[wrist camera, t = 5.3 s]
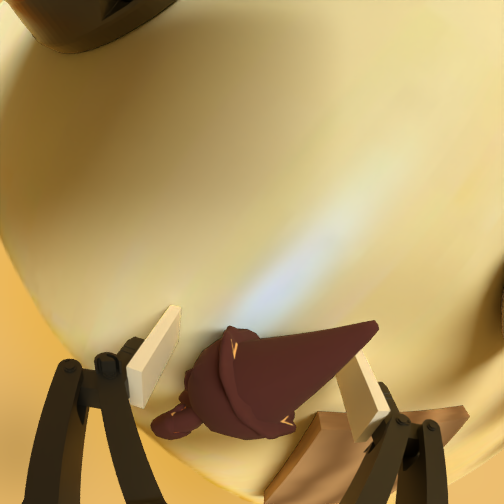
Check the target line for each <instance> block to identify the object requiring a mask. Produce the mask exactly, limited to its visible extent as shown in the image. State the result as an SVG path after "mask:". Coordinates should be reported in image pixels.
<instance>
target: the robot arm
mask: <svg viewBox="0 0 504 504" xmlns="http://www.w3.org/2000/svg"><path fill="white" fill-rule="evenodd" d="M4 1H6V2H7V3H8V4H9V5H10V6H11V8H12V9H13V10H14V12H15V13H16V14H17V16H18V17H19V18H20V20H21V21H22V22H23V24H24V25H25V26H26V27H27V29H28V30H29V31H30V32H31V33H32V35H33V37H34V38H35V39H36V40H37V41H38V42H39V43H41V44H42V45H44V46H47V47H49V48H51V49H53V50H55V51H58V52H61V53H79V52H84V51H87V50H91V49H94V48H97V47H99V46H102V45H104V44H106V43H109V42H111V41H113V40H115V39H117V38H119V37H121V36H123V35H125V34H127V33H128V32H130V31H132V30H134V29H135V28H137V27H138V26H140V25H142V24H143V23H145V22H146V21H148V20H149V19H151V18H152V17H154V16H155V15H157V14H158V13H160V12H161V11H162V10H164V9H165V8H166V7H168V6H169V5H170V4H171V3H173V2H174V1H175V0H4ZM181 310H182V308H181V307H177V306H174V305H170V306H169V308H168V309H167V310H166V312H165V313H164V314H163V316H162V317H161V319H160V320H159V321H158V323H157V324H156V325H155V327H154V328H153V330H152V331H151V332H150V334H149V335H148V337H147V338H146V339H145V340H144V339H141V338H137V337H133V338H131V339H129V340H128V341H127V342H126V343H125V345H124V347H122V348H121V350H120V351H119V352H118V353H117V355H116V354H113V353H109V352H104V353H100V354H98V355H97V356H96V357H95V360H94V363H95V370H89V369H83V368H82V366H81V364H80V363H79V362H78V361H77V360H74V359H66V360H63V361H61V362H60V363H59V365H58V367H57V369H56V372H55V375H54V377H53V380H52V383H51V386H50V388H49V391H48V394H47V398H46V401H45V404H44V407H43V410H42V414H41V417H40V420H39V424H38V428H37V432H36V436H35V440H34V444H33V448H32V453H31V458H30V463H29V468H28V475H27V481H26V488H25V496H24V497H25V498H24V500H23V502H22V504H80V484H81V468H82V457H83V447H84V439H85V432H86V424H87V418H88V412H89V407H94V408H99V409H101V411H102V416H103V422H104V427H105V431H106V437H107V441H108V445H109V449H110V453H111V457H112V461H113V464H114V468H115V471H116V475H117V477H118V481H119V484H120V487H121V490H122V493H123V496H124V499H125V501H126V504H167V503H166V502H165V500H164V498H163V496H162V494H161V492H160V489H159V487H158V485H157V482H156V480H155V477H154V475H153V473H152V470H151V468H150V465H149V462H148V460H147V457H146V454H145V452H144V449H143V446H142V443H141V440H140V437H139V434H138V431H137V427H136V424H135V421H134V417H133V414H132V410H131V407H130V404H131V405H133V406H136V407H139V408H142V409H144V408H145V406H146V404H147V402H148V400H149V398H150V396H151V394H152V392H153V390H154V388H155V386H156V384H157V382H158V380H159V378H160V376H161V374H162V372H163V370H164V368H165V366H166V364H167V362H168V360H169V358H170V357H171V355H172V353H173V351H174V349H175V347H176V345H177V343H178V339H179V328H180V319H181ZM336 379H337V382H338V385H339V389H340V392H341V395H342V399H343V402H344V406H345V409H346V413H347V417H348V420H349V424H350V428H351V431H352V435H353V439H354V443H355V442H367V441H368V439H369V438H370V437H371V436H372V439H373V441H372V443H371V444H370V445H369V446H368V447H367V448H366V449H365V451H364V453H365V452H366V451H367V452H366V454H365V456H364V458H363V460H362V462H361V464H360V466H359V468H358V470H357V472H356V474H355V476H354V478H353V480H352V482H351V484H350V486H349V487H348V489H347V491H346V493H345V494H344V496H343V498H342V499H341V501H340V503H339V504H386V503H387V501H388V498H389V496H390V493H391V491H392V488H393V485H394V483H395V480H396V477H397V474H398V480H397V494H396V504H448V489H447V475H446V465H445V456H444V449H443V442H442V436H441V430H440V426H439V424H438V423H437V422H436V421H434V420H432V419H426V420H424V421H423V423H422V424H416V423H411V420H410V419H409V418H408V417H407V416H406V415H404V414H401V413H399V411H398V408H397V406H396V404H395V402H394V400H393V399H392V396H391V394H390V392H389V390H388V388H387V386H386V385H385V384H384V383H383V382H377V380H376V378H375V376H374V373H373V371H372V369H371V367H370V365H369V363H368V361H367V359H366V357H365V355H364V353H363V351H362V349H361V350H360V351H359V352H358V353H357V354H356V355H355V356H354V357H353V358H352V359H351V360H350V361H349V362H348V363H347V364H346V365H345V366H344V367H343V368H342V369H341V370H340V371H339V372H338V373H337V374H336ZM129 400H130V403H129Z"/></svg>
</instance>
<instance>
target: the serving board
mask: <svg viewBox="0 0 504 504" xmlns="http://www.w3.org/2000/svg"><path fill="white" fill-rule="evenodd" d="M399 413H401V414H404V415H406V416H407V417H408V418H409V419H410V420H411V423H416V424H422V423H423V421H424V420H426V419H432V420H434V421H436V422H437V423H438V424H439V426H440V430H441V436H442V442H443V447H444V446H445V445H446V444H447V443H448V442H449V441H450V440H451V438H452V437H453V436H454V435H455V434H456V433H457V432H458V431H459V429H460V428H461V427H462V426H463V425H464V423H465V422H466V421H467V420H468V418H469V417H470V416H469V414H468V413H467V411H466V410H465V408H464V407H463V405H462V406H456V407H449V408H442V409H434V410H424V411H412V412H399ZM372 441H373V439H372V436H371V437H370V438H369V439H368V441H367V442H355V443H354V439H353V435H352V431H351V428H350V424H349V420H348V417H347V413H338V412H321V411H318V413H317V414H316V416H315V418H314V419H313V421H312V423H311V425H310V426H309V428H308V429H307V431H306V433H305V434H304V436H303V437H302V439H301V441H300V442H299V444H298V445H297V447H296V448H295V450H294V451H293V453H292V454H291V456H290V457H289V459H288V460H287V462H286V463H285V464H284V466H283V467H282V469H281V470H280V472H279V473H278V474H277V476H276V477H275V478H274V480H273V481H272V482H271V484H270V485H269V486H268V488H267V489H266V490H265V491H264V504H338V503H340V501H341V499H342V498H343V496H344V494H345V493H346V491H347V489H348V487H349V486H350V484H351V482H352V480H353V478H354V476H355V474H356V472H357V470H358V468H359V466H360V464H361V462H362V460H363V458H364V456H365V454H366V452H367V451H366V452H365V453H364V451H365V449H366V448H367V447H368V446H369V445H370V444H371V443H372ZM397 480H398V474H397V477H396V480H395V483H394V485H393V488H392V491H391V493H393V492H394V491H395V490H397ZM391 493H390V494H391Z"/></svg>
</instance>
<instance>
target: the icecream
mask: <svg viewBox="0 0 504 504" xmlns="http://www.w3.org/2000/svg"><path fill="white" fill-rule="evenodd" d="M378 330H379V326H378V324H377V323H376V321H375V320H373V321H367V322H361V323H357V324H352V325H347V326H343V327H337V328H332V329H326V330H320V331H314V332H308V333H301V334H294V335H287V336H279V337H271V338H263V339H260V338H259V336H258V335H257V334H256V333H254V332H252V331H250V330H248V329H237V328H235V327H232V326H228V327H227V329H226V331H225V330H224V334H223V337H222V338H221V339H219V340H217V341H216V342H214V343H213V344H212V345H210V346H209V347H207V348H206V349H205V350H203V351H202V353H201V354H200V356H199V358H198V359H197V361H196V362H195V365H194V367H193V368H192V369H190V370H188V371H186V373H185V380H184V384H185V389H186V390H185V391H183V392H182V393H181V395H180V396H179V400H180V402H181V403H180V404H178V405H177V406H176V407H175V408H174V409H172V410H170V411H168V412H166V413H163V414H161V415H160V416H158V417H157V418H155V419H154V420H153V421H152V423H151V430H152V431H153V432H154V434H155V435H156V436H158V437H161V438H164V439H168V440H173V439H179V438H182V437H184V436H187V435H188V434H190V433H191V431H192V430H194V429H196V428H198V427H199V426H200V425H201V424H202V423H204V424H205V425H206V426H207V427H208V428H209V429H210V430H211V431H213V432H217V433H220V434H223V435H227V436H231V437H235V438H239V439H243V440H252V439H261V438H267V439H275V438H278V437H280V436H283V435H287V434H291V433H293V432H295V430H296V425H295V424H294V422H293V420H294V416H295V413H294V411H295V410H296V409H297V408H298V407H299V406H301V405H302V404H303V403H304V402H305V401H307V400H308V399H309V398H310V397H311V396H312V395H314V394H315V393H316V392H317V391H318V390H319V389H320V388H322V387H323V386H324V385H325V384H326V383H327V382H328V381H329V380H330V379H331V378H333V377H334V376H335V375H336V374H337V373H338V372H339V371H340V370H341V369H342V368H343V367H344V366H345V365H346V364H347V363H348V362H349V361H350V360H351V359H352V358H353V357H354V356H355V355H356V354H357V353H358V352H359V351H360V350H361V349H362V348H363V347H364V346H365V345H366V344H367V343H368V342H369V341H370V340H371V338H372V337H373V336H374V335H375V334H376V333H377V331H378Z"/></svg>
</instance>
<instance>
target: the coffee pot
mask: <svg viewBox="0 0 504 504" xmlns="http://www.w3.org/2000/svg"><path fill="white" fill-rule="evenodd" d="M501 311H502V316H501V321H502V335H503V338H504V289H503V294H502V301H501Z"/></svg>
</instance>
